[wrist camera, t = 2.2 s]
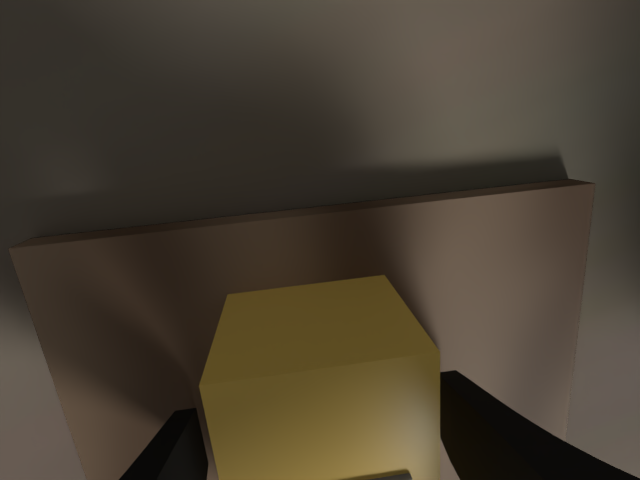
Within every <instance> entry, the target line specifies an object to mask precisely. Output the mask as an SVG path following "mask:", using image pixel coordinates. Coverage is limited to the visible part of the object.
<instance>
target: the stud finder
mask: <svg viewBox="0 0 640 480" xmlns="http://www.w3.org/2000/svg"><path fill="white" fill-rule="evenodd" d="M199 388H200V393H201V398H202V402H203V407H204V412H205V416H206V421H207V426H208V430H209V435H210V440H211V445H212V449H213V454H214V459H215V463H216V468H217V473H218V477H219V480H440V351H439V350H438V348H437V347H436V345H435V344H434V343H433V341H432V340H431V339H430V337H429V336H428V334H427V333H426V332H425V330H424V329H423V327H422V326H421V325H420V323H419V322H418V321H417V319H416V318H415V316H414V315H413V314H412V312H411V311H410V309H409V308H408V307H407V305H406V304H405V303H404V301H403V300H402V298H401V297H400V296H399V294H398V293H397V292H396V290H395V289H394V287H393V286H392V285H391V283H390V282H389V280H388V279H387V278H386V276H385V275H379V276H371V277H363V278H355V279H347V280H339V281H331V282H323V283H315V284H307V285H299V286H291V287H283V288H275V289H267V290H259V291H251V292H243V293H235V294H228V295H227V298H226V301H225V304H224V307H223V311H222V314H221V317H220V320H219V323H218V326H217V330H216V333H215V336H214V339H213V342H212V346H211V349H210V352H209V355H208V358H207V362H206V365H205V368H204V371H203V374H202V378H201V381H200V384H199Z"/></svg>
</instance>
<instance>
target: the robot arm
mask: <svg viewBox="0 0 640 480" xmlns="http://www.w3.org/2000/svg"><path fill="white" fill-rule="evenodd" d="M440 438H441V440H442V443H443V445H444V448H445V450H446V452H447V455H448V457H449V460H450V462H451V464H452V466H453V467H454V469H455V471H456V473H457V475H458V477H459V479H460V480H640V478H638V477H635V476H633V475H631V474H629V473H626V472H624V471H622V470H620V469H618V468H615V467H613V466H611V465H609V464H607V463H605V462H603V461H601V460H599V459H597V458H595V457H593V456H591V455H589V454H587V453H586V452H584V451H582V450H580V449H578V448H576V447H574V446H572V445H570V444H568V443H567V442H565V441H563V440H561V439H560V438H558V437H556V436H554V435H553V434H551V433H549V432H548V431H546V430H544V429H543V428H541V427H539V426H538V425H536V424H534V423H533V422H531V421H530V420H528V419H527V418H525V417H523V416H522V415H520V414H519V413H517V412H516V411H514V410H513V409H511V408H510V407H508V406H507V405H505V404H504V403H502V402H501V401H499V400H498V399H497V398H495V397H494V396H492V395H491V394H489V393H488V392H487V391H485V390H484V389H482V388H481V387H479V386H478V385H477V384H475V383H474V382H472V381H471V380H470V379H468V378H467V377H465V376H464V375H462V374H461V373H460V372H458V371H457V370H452V371H445V372H440ZM208 464H209V463H208V458H207V454H206V449H205V445H204V440H203V436H202V431H201V427H200V422H199V418H198V413H197V408H191V409H184V410H177V411H174V413H173V414H172V415H171V416H170V417H169V419H168V420H167V421H166V422H165V424H164V425H163V426H162V427H161V429H160V430H159V431H158V432H157V434H156V435H155V436H154V437H153V439H152V440H151V441H150V442H149V444H148V445H147V446H146V447H145V449H144V450H143V451H142V452H141V454H140V455H139V456H138V457H137V458H136V460H135V461H134V462H133V463H132V464H131V466H130V467H129V468H128V469H127V471H126V472H125V473H124V474H123V475H122V476H121V478H120V479H119V480H207V473H208Z"/></svg>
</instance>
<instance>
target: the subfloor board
mask: <svg viewBox="0 0 640 480" xmlns="http://www.w3.org/2000/svg"><path fill="white" fill-rule="evenodd" d="M594 191H595V183H590V182H585V181H579V180H573V179H565V180H556V181H547V182H538V183H529V184H520V185H511V186H502V187H493V188H484V189H474V190H465V191H456V192H447V193H438V194H429V195H420V196H411V197H402V198H393V199H383V200H374V201H365V202H356V203H347V204H338V205H329V206H320V207H311V208H302V209H292V210H283V211H274V212H265V213H256V214H247V215H238V216H229V217H220V218H211V219H201V220H192V221H183V222H174V223H165V224H156V225H147V226H138V227H129V228H119V229H110V230H101V231H92V232H83V233H74V234H65V235H56V236H47V237H38V238H31V239H29V240H27V241H24V242H22V243H20V244H18V245H15V246H13V247H11V248H9V249H8V250H9V253H10V256H11V259H12V262H13V265H14V268H15V271H16V273H17V276H18V279H19V282H20V285H21V288H22V291H23V294H24V297H25V300H26V303H27V306H28V309H29V312H30V314H31V317H32V320H33V323H34V326H35V329H36V332H37V335H38V338H39V341H40V344H41V347H42V350H43V353H44V356H45V358H46V361H47V364H48V367H49V370H50V373H51V376H52V379H53V382H54V385H55V388H56V391H57V394H58V397H59V399H60V402H61V405H62V408H63V411H64V414H65V417H66V420H67V423H68V426H69V429H70V432H71V435H72V438H73V440H74V443H75V446H76V449H77V452H78V455H79V458H80V461H81V464H82V467H83V470H84V473H85V476H86V479H87V480H119V479H120V478H121V476H122V475H123V474H124V473H125V472H126V471H127V469H128V468H129V467H130V466H131V464H132V463H133V462H134V461H135V460H136V458H137V457H138V456H139V455H140V454H141V452H142V451H143V450H144V449H145V447H146V446H147V445H148V444H149V442H150V441H151V440H152V439H153V437H154V436H155V435H156V434H157V432H158V431H159V430H160V429H161V427H162V426H163V425H164V424H165V422H166V421H167V420H168V419H169V417H170V416H171V415H172V414H173V413H174V411H177V410H184V409H191V408H197V413H198V418H199V422H200V427H201V431H202V436H203V440H204V445H205V449H206V454H207V458H208V463H209V464H208V473H207V480H219V477H218V473H217V468H216V463H215V459H214V454H213V449H212V445H211V440H210V435H209V430H208V426H207V421H206V416H205V412H204V407H203V402H202V398H201V393H200V388H199V384H200V381H201V378H202V374H203V371H204V368H205V365H206V362H207V358H208V355H209V352H210V349H211V346H212V342H213V339H214V336H215V333H216V330H217V326H218V323H219V320H220V317H221V314H222V311H223V307H224V304H225V301H226V298H227V295H228V294H235V293H243V292H251V291H259V290H267V289H275V288H283V287H291V286H299V285H307V284H315V283H323V282H331V281H339V280H347V279H355V278H363V277H371V276H379V275H385V276H386V278H387V279H388V280H389V282H390V283H391V285H392V286H393V287H394V289H395V290H396V292H397V293H398V294H399V296H400V297H401V298H402V300H403V301H404V303H405V304H406V305H407V307H408V308H409V309H410V311H411V312H412V314H413V315H414V316H415V318H416V319H417V321H418V322H419V323H420V325H421V326H422V327H423V329H424V330H425V332H426V333H427V334H428V336H429V337H430V339H431V340H432V341H433V343H434V344H435V345H436V347H437V348H438V350H439V351H440V372H445V371H452V370H457V371H458V372H460V373H461V374H462V375H464V376H465V377H467V378H468V379H470V380H471V381H472V382H474V383H475V384H477V385H478V386H479V387H481V388H482V389H484V390H485V391H487V392H488V393H489V394H491V395H492V396H494V397H495V398H497V399H498V400H499V401H501V402H502V403H504V404H505V405H507V406H508V407H510V408H511V409H513V410H514V411H516V412H517V413H519V414H520V415H522V416H523V417H525V418H527V419H528V420H530V421H531V422H533V423H534V424H536V425H538V426H539V427H541V428H543V429H544V430H546V431H548V432H549V433H551V434H553V435H554V436H556V437H558V438H560V439H561V440H563V441H565V440H566V431H567V423H568V414H569V405H570V397H571V388H572V380H573V371H574V363H575V354H576V345H577V337H578V328H579V320H580V311H581V302H582V294H583V285H584V277H585V268H586V260H587V251H588V242H589V234H590V225H591V217H592V208H593V199H594ZM440 480H460V479H459V477H458V475H457V473H456V471H455V469H454V467H453V466H452V464H451V462H450V460H449V457H448V455H447V452H446V450H445V448H444V445H443V443H442V440H441V438H440Z"/></svg>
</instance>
